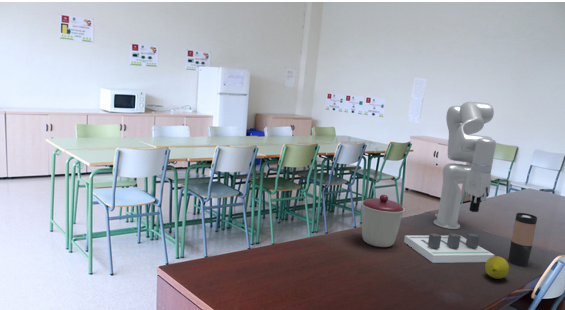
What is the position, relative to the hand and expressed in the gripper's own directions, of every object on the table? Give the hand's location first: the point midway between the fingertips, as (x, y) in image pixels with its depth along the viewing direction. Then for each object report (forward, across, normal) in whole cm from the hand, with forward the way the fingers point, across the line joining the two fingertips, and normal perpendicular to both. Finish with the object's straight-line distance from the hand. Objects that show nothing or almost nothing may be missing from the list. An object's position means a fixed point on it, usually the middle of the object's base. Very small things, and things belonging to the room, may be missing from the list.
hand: (473, 211), depth 188 cm
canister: (+18, -10, -36) cm, 42 cm away
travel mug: (+18, +12, +16) cm, 27 cm away
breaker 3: (+15, +3, 0) cm, 15 cm away
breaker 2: (+14, +3, -9) cm, 17 cm away
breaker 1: (+14, +3, -18) cm, 23 cm away
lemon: (+18, +25, -6) cm, 31 cm away
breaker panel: (+18, 0, -9) cm, 20 cm away
